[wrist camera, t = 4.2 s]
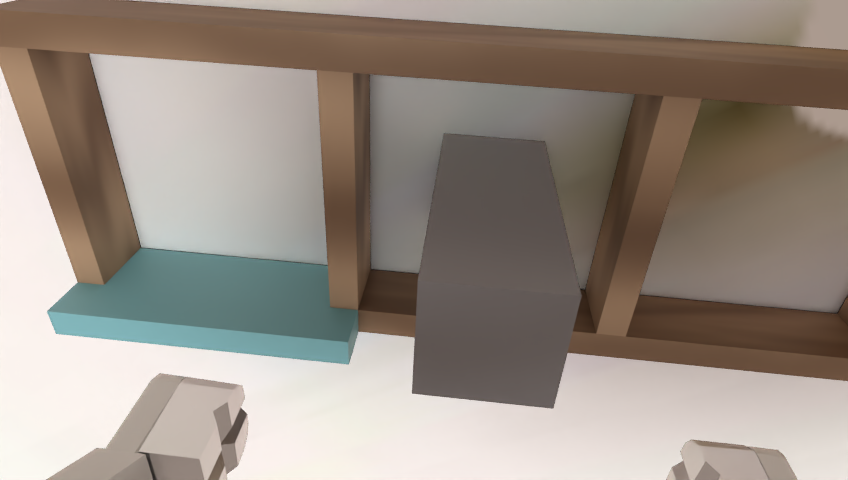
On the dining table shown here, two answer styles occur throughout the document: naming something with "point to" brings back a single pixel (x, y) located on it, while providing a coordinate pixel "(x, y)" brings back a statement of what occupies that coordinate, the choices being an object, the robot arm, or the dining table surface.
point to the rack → (350, 178)
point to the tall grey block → (494, 277)
